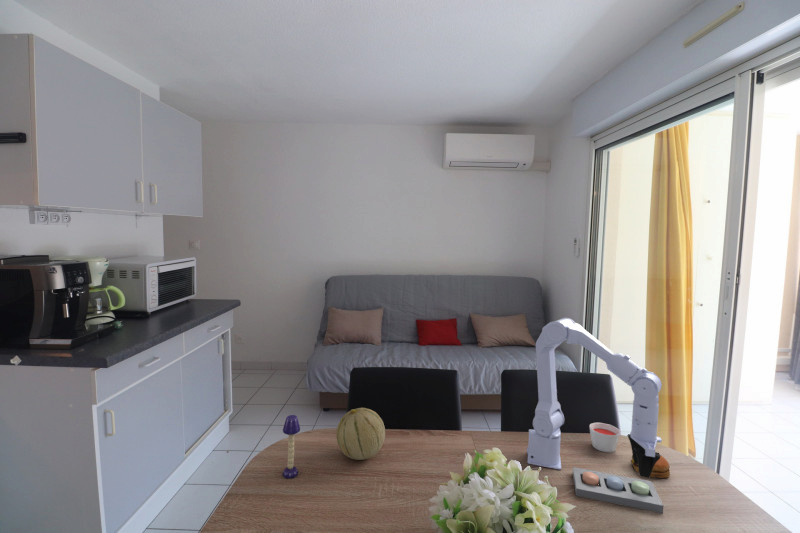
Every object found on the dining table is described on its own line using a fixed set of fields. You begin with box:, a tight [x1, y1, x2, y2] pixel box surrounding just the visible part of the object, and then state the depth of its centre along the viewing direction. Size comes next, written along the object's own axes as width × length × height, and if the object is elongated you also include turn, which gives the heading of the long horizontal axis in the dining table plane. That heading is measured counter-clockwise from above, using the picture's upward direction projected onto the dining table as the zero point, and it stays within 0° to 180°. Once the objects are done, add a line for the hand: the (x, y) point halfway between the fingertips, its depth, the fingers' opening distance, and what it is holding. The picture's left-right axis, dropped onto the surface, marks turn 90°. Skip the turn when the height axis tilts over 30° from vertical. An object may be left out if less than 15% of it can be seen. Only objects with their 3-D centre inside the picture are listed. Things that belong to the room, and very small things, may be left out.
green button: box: [631, 481, 649, 496], centre depth 108 cm, size 4×4×2 cm
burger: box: [630, 454, 671, 479], centre depth 122 cm, size 10×9×5 cm
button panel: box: [572, 466, 664, 514], centre depth 110 cm, size 20×11×2 cm, turn 72°
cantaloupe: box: [335, 407, 386, 461], centre depth 125 cm, size 15×15×15 cm
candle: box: [589, 422, 621, 453], centre depth 135 cm, size 9×9×6 cm
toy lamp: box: [282, 414, 301, 479], centre depth 114 cm, size 5×5×17 cm
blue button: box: [606, 476, 624, 491], centre depth 110 cm, size 4×4×2 cm
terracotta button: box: [581, 472, 599, 486], centre depth 112 cm, size 4×4×2 cm
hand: (641, 469), depth 108 cm, fingers open, 6 cm apart
